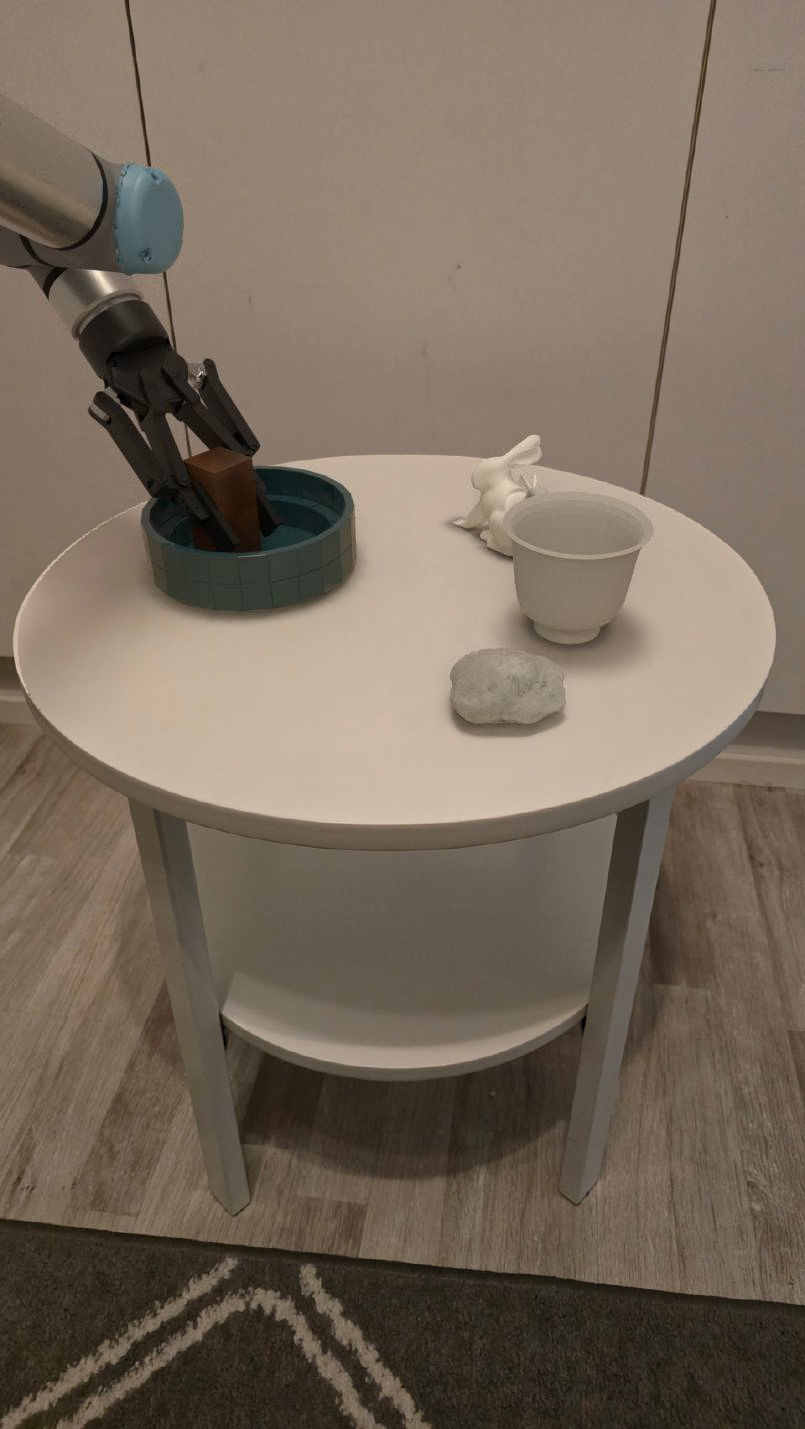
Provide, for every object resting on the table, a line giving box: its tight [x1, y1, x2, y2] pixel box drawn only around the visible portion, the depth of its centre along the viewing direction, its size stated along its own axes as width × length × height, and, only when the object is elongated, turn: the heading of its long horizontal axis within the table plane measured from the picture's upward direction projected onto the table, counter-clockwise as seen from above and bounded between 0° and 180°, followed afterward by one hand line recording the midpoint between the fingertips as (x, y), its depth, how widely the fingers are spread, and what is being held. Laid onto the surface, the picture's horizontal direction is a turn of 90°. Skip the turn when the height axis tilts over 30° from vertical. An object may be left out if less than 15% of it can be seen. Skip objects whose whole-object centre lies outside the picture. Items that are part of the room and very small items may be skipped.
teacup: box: [503, 485, 654, 645], centre depth 83 cm, size 12×15×10 cm
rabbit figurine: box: [452, 434, 543, 557], centre depth 96 cm, size 12×8×10 cm, turn 28°
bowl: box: [139, 464, 358, 613], centre depth 93 cm, size 20×20×6 cm
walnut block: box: [183, 446, 262, 553], centre depth 91 cm, size 4×4×10 cm
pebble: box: [449, 647, 567, 725], centre depth 74 cm, size 9×8×5 cm
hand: (252, 539), depth 91 cm, fingers closed on walnut block, 4 cm apart
